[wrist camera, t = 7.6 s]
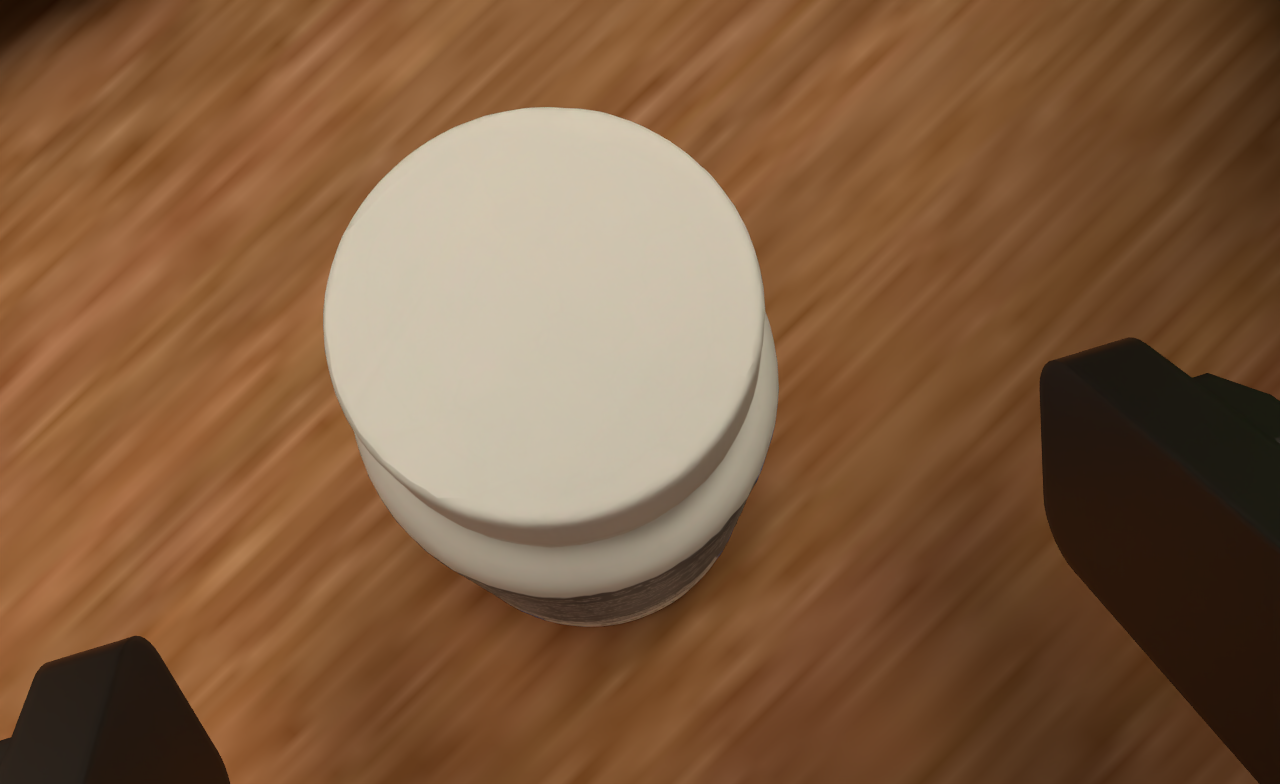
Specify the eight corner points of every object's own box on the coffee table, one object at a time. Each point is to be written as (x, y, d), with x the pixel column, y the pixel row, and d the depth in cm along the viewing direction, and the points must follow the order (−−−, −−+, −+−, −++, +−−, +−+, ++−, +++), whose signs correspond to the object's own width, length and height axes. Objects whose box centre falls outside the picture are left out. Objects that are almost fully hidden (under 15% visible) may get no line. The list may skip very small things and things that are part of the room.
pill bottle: (794, 540, 18) (914, 416, 10) (525, 682, 17) (411, 679, 9) (654, 289, 19) (656, -14, 11) (398, 415, 18) (194, 198, 10)
